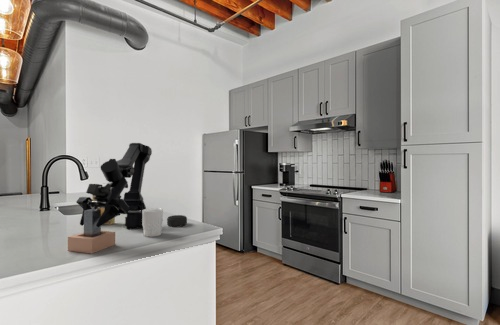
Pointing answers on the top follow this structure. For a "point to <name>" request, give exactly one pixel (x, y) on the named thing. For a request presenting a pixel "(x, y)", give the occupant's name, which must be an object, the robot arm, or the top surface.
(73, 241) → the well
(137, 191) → the robot arm
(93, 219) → the gray rectangular block
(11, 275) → the top surface
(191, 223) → the top surface
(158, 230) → the white cup
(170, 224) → the smart speaker
